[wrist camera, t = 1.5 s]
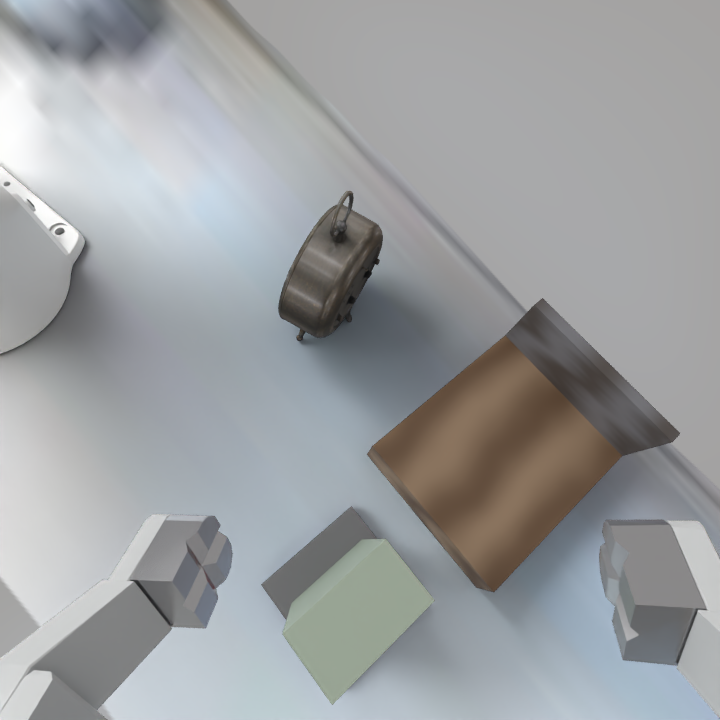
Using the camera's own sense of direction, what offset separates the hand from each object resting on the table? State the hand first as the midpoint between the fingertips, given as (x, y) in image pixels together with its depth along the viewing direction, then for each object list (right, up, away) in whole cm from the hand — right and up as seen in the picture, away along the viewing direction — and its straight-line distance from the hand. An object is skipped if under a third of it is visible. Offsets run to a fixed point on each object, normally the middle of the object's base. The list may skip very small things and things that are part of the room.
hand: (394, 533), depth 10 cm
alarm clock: (-4, +9, +37) cm, 38 cm away
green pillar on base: (-2, -15, +28) cm, 32 cm away
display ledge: (+11, -5, +33) cm, 35 cm away
